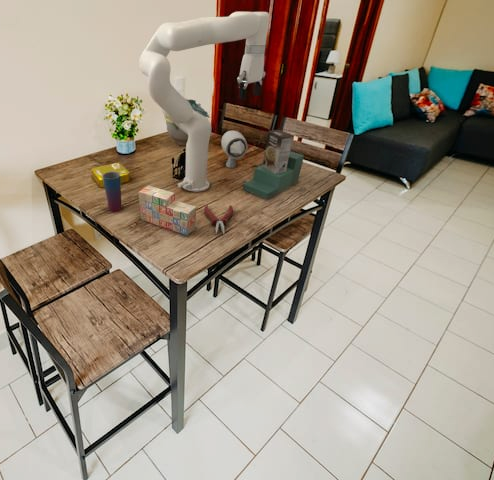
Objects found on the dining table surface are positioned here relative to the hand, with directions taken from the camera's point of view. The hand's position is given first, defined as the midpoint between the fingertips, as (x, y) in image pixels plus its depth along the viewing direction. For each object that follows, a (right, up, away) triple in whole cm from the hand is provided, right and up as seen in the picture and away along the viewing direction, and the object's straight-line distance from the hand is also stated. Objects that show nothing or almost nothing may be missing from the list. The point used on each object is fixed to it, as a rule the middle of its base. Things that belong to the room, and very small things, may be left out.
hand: (249, 97), depth 140 cm
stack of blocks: (-34, -54, -12) cm, 65 cm away
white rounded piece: (-2, -23, +31) cm, 38 cm away
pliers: (-16, -52, -10) cm, 56 cm away
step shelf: (+13, -35, +13) cm, 40 cm away
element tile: (-61, -31, +21) cm, 72 cm away
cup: (-56, -47, -2) cm, 73 cm away
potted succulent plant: (-24, -2, +60) cm, 65 cm away
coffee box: (+13, -29, +9) cm, 33 cm away
